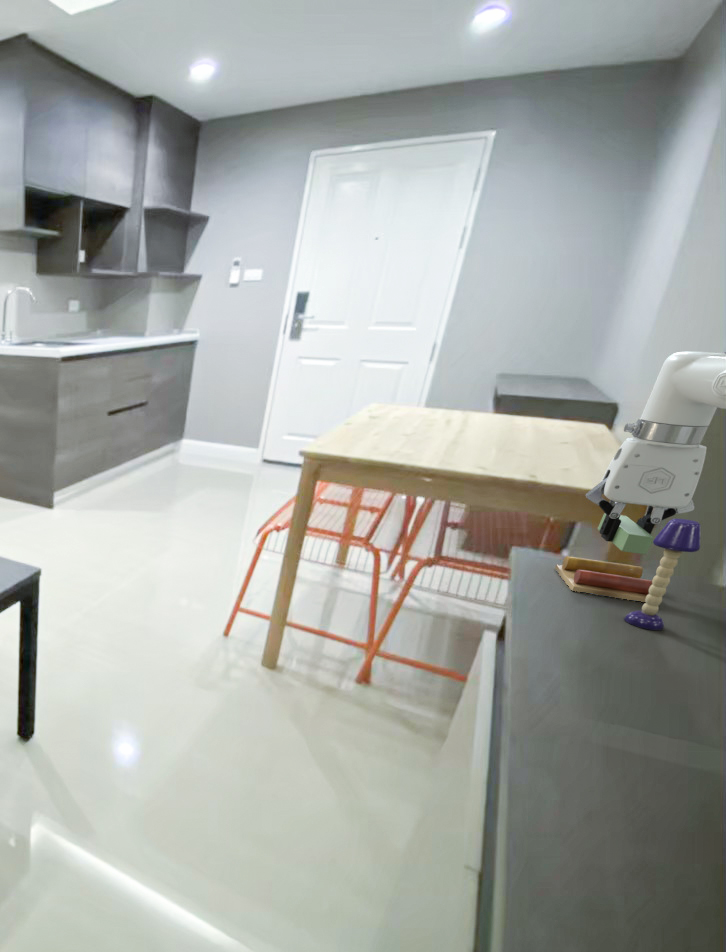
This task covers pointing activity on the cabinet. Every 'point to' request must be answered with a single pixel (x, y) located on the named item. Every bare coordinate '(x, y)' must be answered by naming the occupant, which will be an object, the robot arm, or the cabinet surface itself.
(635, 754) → the cabinet surface
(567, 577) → the rod stand
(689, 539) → the toy lamp
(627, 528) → the bar
